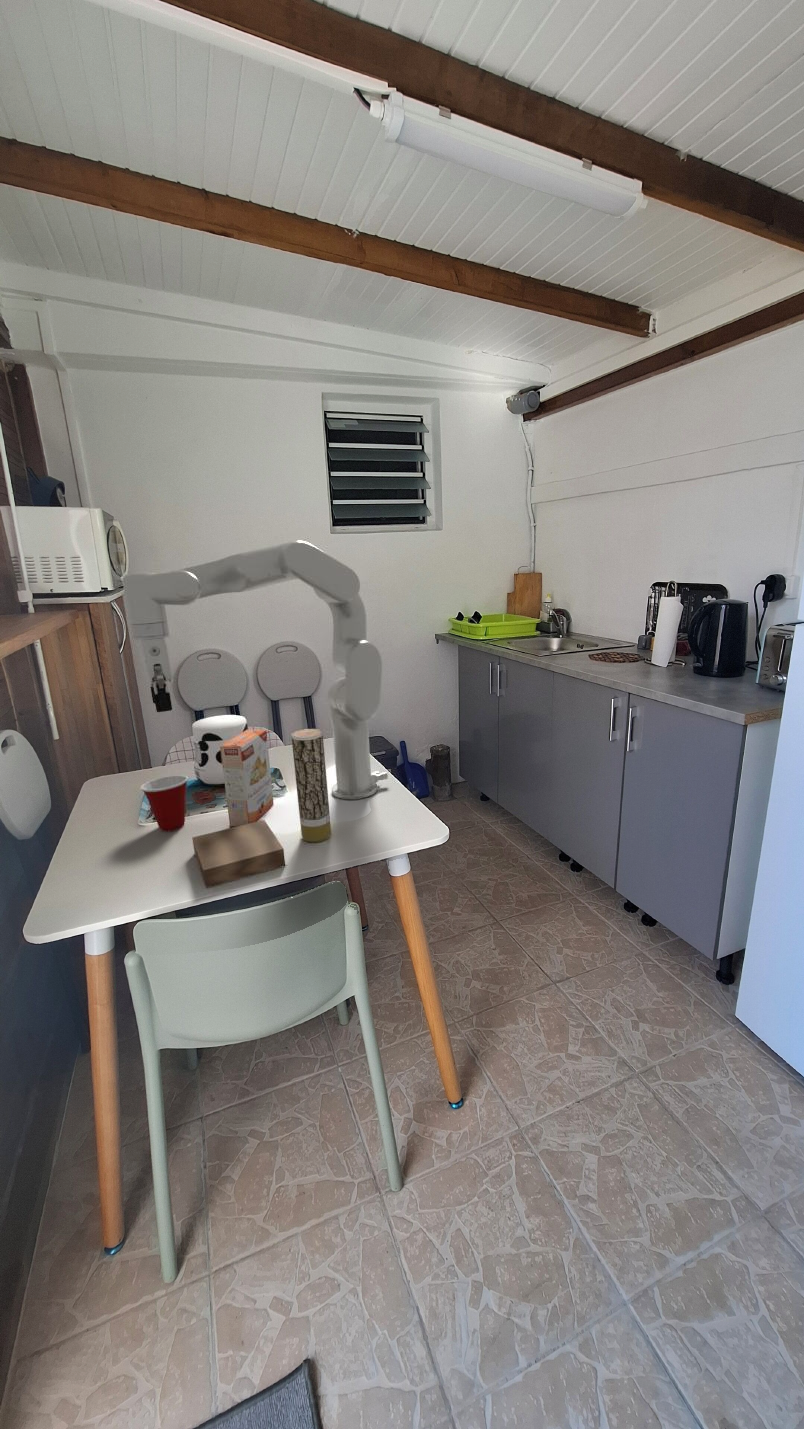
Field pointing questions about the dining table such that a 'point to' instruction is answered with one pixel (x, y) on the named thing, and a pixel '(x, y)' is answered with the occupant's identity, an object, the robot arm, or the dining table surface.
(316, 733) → the paper tube
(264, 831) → the walnut base
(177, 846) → the dining table surface
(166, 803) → the plastic cup
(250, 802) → the cracker box
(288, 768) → the dining table surface
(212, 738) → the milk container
